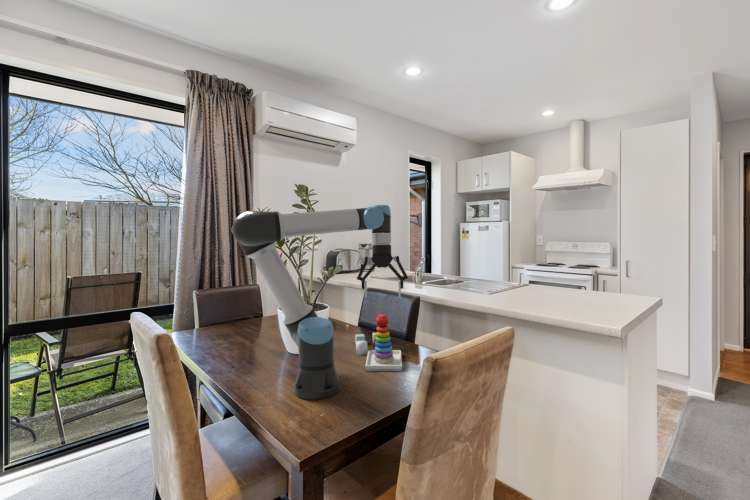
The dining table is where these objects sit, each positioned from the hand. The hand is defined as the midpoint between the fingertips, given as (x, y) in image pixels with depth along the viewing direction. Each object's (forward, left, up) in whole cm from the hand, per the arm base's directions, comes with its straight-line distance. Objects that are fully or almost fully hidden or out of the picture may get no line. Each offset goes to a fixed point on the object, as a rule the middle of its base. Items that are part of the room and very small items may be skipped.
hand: (382, 297), depth 142 cm
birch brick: (-3, +28, -27) cm, 39 cm away
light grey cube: (-10, +11, -27) cm, 31 cm away
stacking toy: (0, 0, -26) cm, 26 cm away
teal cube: (-12, +25, -27) cm, 39 cm away
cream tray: (0, 0, -27) cm, 27 cm away
